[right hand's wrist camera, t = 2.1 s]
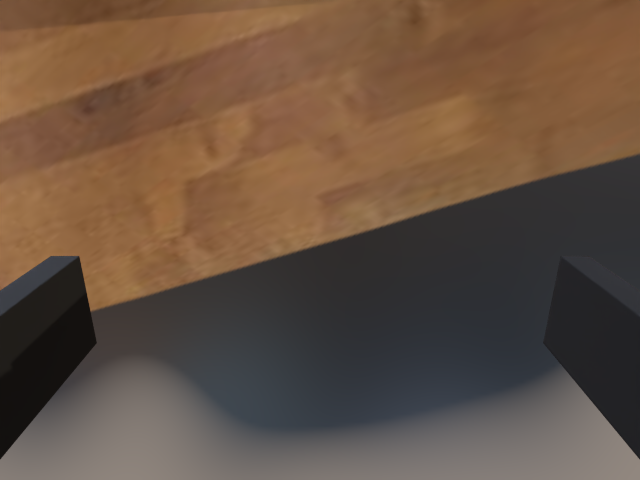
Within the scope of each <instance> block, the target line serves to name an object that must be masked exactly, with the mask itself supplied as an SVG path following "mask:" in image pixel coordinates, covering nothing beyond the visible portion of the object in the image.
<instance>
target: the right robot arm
mask: <svg viewBox="0 0 640 480" xmlns="http://www.w3.org/2000/svg"><path fill="white" fill-rule="evenodd" d="M96 343H97V342H96V337H95V332H94V327H93V322H92V317H91V312H90V307H89V302H88V297H87V292H86V288H85V283H84V278H83V273H82V268H81V263H80V258H79V256H51V257H49V258H48V259H46V260H45V261H43V262H42V263H40V264H39V265H37V266H36V267H34V268H33V269H31V270H30V271H29V272H27V273H26V274H24V275H23V276H21V277H20V278H18V279H17V280H15V281H14V282H12V283H11V284H9V285H8V286H6V287H5V288H3V289H2V290H1V291H0V459H1V458H2V457H3V455H4V454H5V453H6V452H7V451H8V449H9V448H10V447H11V446H12V445H13V443H14V442H15V441H16V440H17V438H18V437H19V436H20V435H21V434H22V432H23V431H24V430H25V429H26V428H27V426H28V425H29V424H30V423H31V422H32V420H33V419H34V418H35V417H36V416H37V414H38V413H39V412H40V411H41V410H42V408H43V407H44V406H45V405H46V404H47V402H48V401H49V400H50V399H51V397H52V396H53V395H54V394H55V393H56V391H57V390H58V389H59V388H60V387H61V385H62V384H63V383H64V382H65V381H66V379H67V378H68V377H69V376H70V375H71V373H72V372H73V371H74V370H75V369H76V367H77V366H78V365H79V364H80V362H81V361H82V360H83V359H84V358H85V356H86V355H87V354H88V353H89V352H90V350H91V349H92V348H93V347H94V346H95V344H96ZM543 343H544V344H545V346H546V347H547V348H548V349H549V350H550V352H551V353H552V354H553V355H554V356H555V358H556V359H557V360H558V361H559V362H560V364H561V365H562V366H563V367H564V368H565V370H566V371H567V372H568V373H569V375H570V376H571V377H572V378H573V379H574V380H575V382H576V383H577V384H578V385H579V387H580V388H581V389H582V390H583V391H584V393H585V394H586V395H587V396H588V397H589V399H590V400H591V401H592V402H593V404H594V405H595V406H596V407H597V408H598V410H599V411H600V412H601V413H602V414H603V416H604V417H605V418H606V419H607V420H608V422H609V423H610V424H611V425H612V426H613V428H614V429H615V430H616V431H617V432H618V434H619V435H620V436H621V437H622V438H623V440H624V441H625V442H626V443H627V444H628V446H629V447H630V448H631V449H632V451H633V452H634V453H635V454H636V455H637V457H638V458H639V459H640V291H639V290H638V289H637V288H635V287H634V286H632V285H631V284H629V283H628V282H626V281H625V280H623V279H622V278H620V277H619V276H617V275H616V274H614V273H613V272H611V271H610V270H609V269H607V268H606V267H604V266H603V265H601V264H600V263H598V262H597V261H595V260H594V259H592V258H591V257H589V256H561V258H560V263H559V268H558V273H557V278H556V283H555V288H554V292H553V298H552V302H551V307H550V312H549V317H548V322H547V327H546V332H545V337H544V342H543Z"/></svg>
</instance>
